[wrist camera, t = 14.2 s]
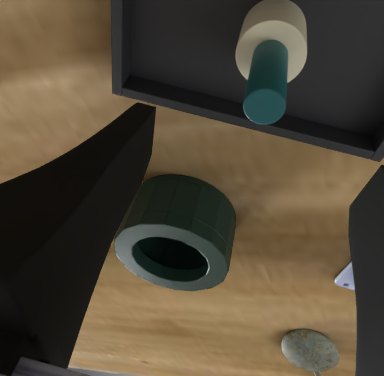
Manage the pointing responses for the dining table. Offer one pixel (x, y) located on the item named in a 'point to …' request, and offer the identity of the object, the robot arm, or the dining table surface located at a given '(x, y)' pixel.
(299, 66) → the teal peg on base
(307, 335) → the soupspoon
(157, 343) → the dining table surface
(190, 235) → the jar
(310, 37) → the tray
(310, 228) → the dining table surface
